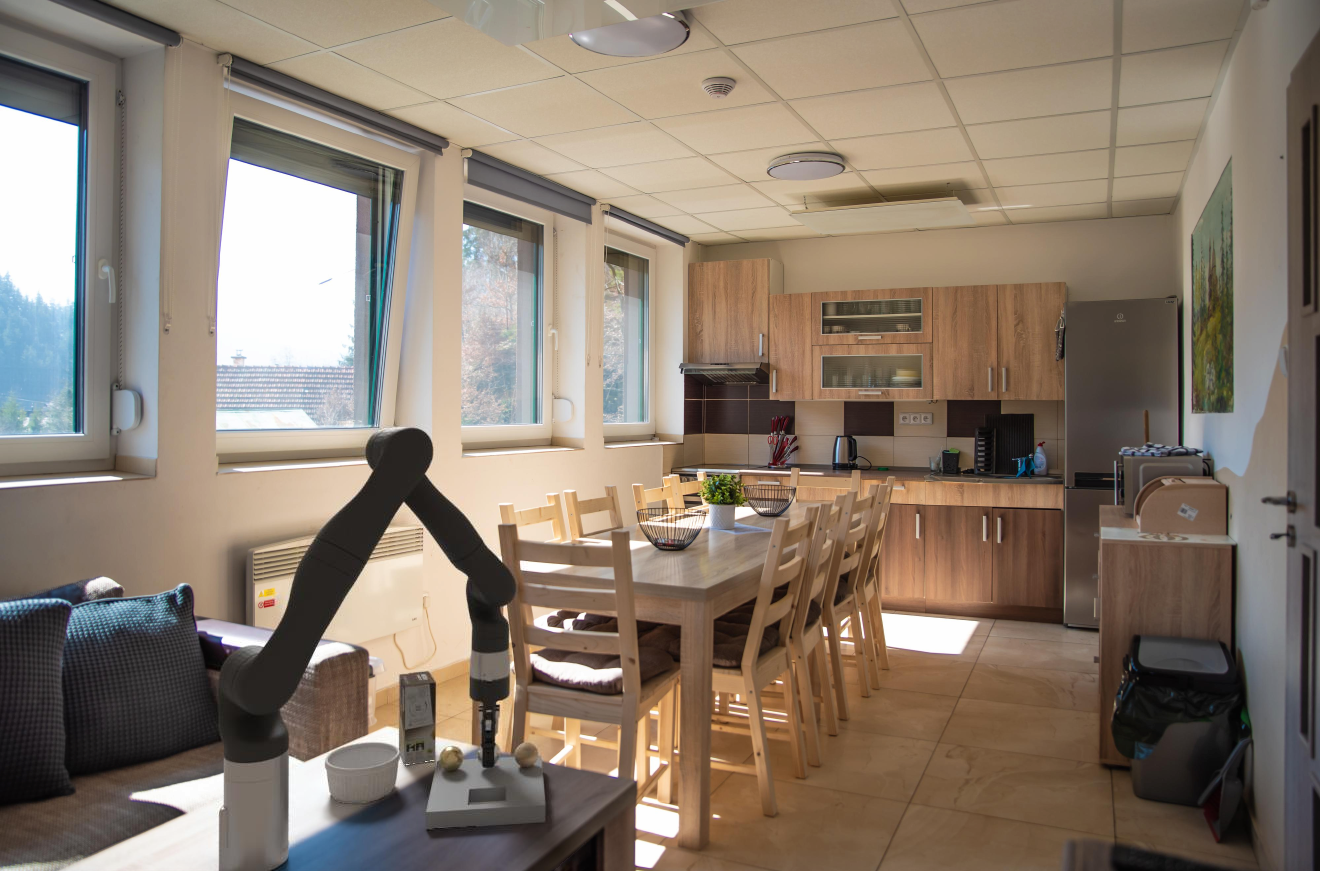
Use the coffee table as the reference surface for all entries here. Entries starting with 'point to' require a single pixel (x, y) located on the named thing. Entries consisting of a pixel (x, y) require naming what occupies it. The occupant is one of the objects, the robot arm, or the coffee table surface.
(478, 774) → the board
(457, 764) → the brass ball
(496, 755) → the steel ball
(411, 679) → the coffee box
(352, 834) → the coffee table surface
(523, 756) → the oak ball
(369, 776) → the ramekin
